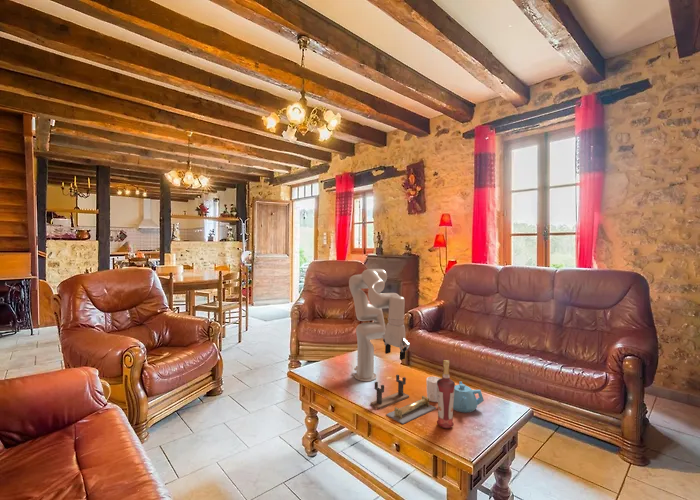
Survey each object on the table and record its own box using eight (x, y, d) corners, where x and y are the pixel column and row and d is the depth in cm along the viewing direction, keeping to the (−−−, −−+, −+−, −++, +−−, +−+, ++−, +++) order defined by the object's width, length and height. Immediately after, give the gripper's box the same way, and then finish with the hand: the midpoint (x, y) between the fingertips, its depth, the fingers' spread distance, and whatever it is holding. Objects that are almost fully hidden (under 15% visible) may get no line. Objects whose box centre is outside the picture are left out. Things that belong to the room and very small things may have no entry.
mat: (386, 415, 157) (386, 413, 157) (419, 401, 171) (419, 399, 171) (402, 424, 149) (402, 423, 149) (436, 408, 163) (436, 407, 163)
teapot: (463, 418, 155) (464, 394, 155) (438, 404, 168) (439, 382, 168) (485, 409, 163) (486, 387, 163) (460, 397, 176) (460, 376, 176)
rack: (370, 404, 167) (370, 383, 167) (400, 393, 180) (400, 373, 180) (378, 409, 162) (379, 387, 162) (409, 397, 175) (409, 376, 175)
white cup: (442, 403, 169) (443, 383, 169) (426, 401, 171) (426, 381, 170) (441, 396, 177) (442, 377, 176) (425, 395, 178) (426, 375, 178)
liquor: (455, 431, 144) (456, 364, 143) (437, 429, 145) (438, 363, 145) (453, 422, 151) (454, 358, 150) (435, 420, 152) (436, 357, 152)
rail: (400, 419, 152) (400, 410, 152) (394, 415, 155) (394, 407, 155) (429, 406, 165) (429, 398, 164) (422, 403, 167) (422, 395, 167)
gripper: (378, 318, 172) (377, 352, 173) (404, 327, 159) (403, 363, 160) (388, 316, 177) (387, 349, 178) (415, 324, 163) (413, 360, 164)
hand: (394, 356), depth 169 cm, fingers open, 9 cm apart
